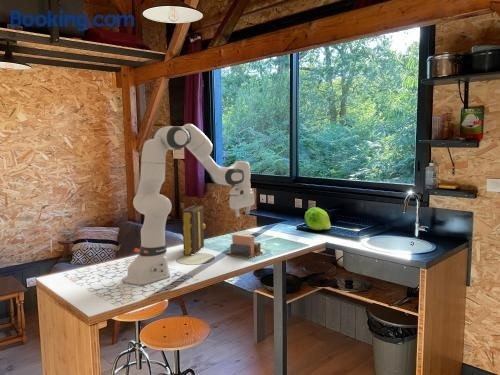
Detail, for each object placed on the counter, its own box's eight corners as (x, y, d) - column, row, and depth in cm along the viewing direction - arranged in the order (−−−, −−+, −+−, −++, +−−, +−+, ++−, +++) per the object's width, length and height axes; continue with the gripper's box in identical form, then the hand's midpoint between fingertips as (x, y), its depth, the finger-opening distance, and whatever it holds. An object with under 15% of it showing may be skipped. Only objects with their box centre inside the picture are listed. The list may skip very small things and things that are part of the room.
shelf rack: (250, 258, 220) (250, 247, 219) (226, 254, 228) (226, 244, 228) (262, 253, 230) (262, 242, 230) (238, 249, 239) (238, 239, 238)
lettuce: (329, 235, 280) (339, 215, 284) (304, 220, 280) (314, 200, 284) (321, 238, 297) (330, 219, 301) (297, 223, 296) (307, 205, 301)
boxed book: (250, 255, 223) (250, 237, 222) (232, 252, 230) (232, 234, 229) (254, 253, 226) (254, 235, 225) (236, 250, 233) (235, 233, 232)
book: (195, 255, 227) (194, 211, 225) (180, 255, 229) (179, 210, 227) (207, 245, 249) (206, 205, 246) (193, 245, 251) (192, 204, 248)
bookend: (249, 255, 222) (248, 246, 221) (230, 253, 228) (230, 244, 228) (250, 255, 223) (249, 246, 222) (231, 252, 229) (231, 243, 228)
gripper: (247, 188, 235) (248, 212, 236) (227, 191, 218) (227, 217, 219) (257, 188, 232) (257, 213, 233) (237, 192, 214) (237, 218, 216)
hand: (242, 215), depth 226 cm, fingers open, 8 cm apart
